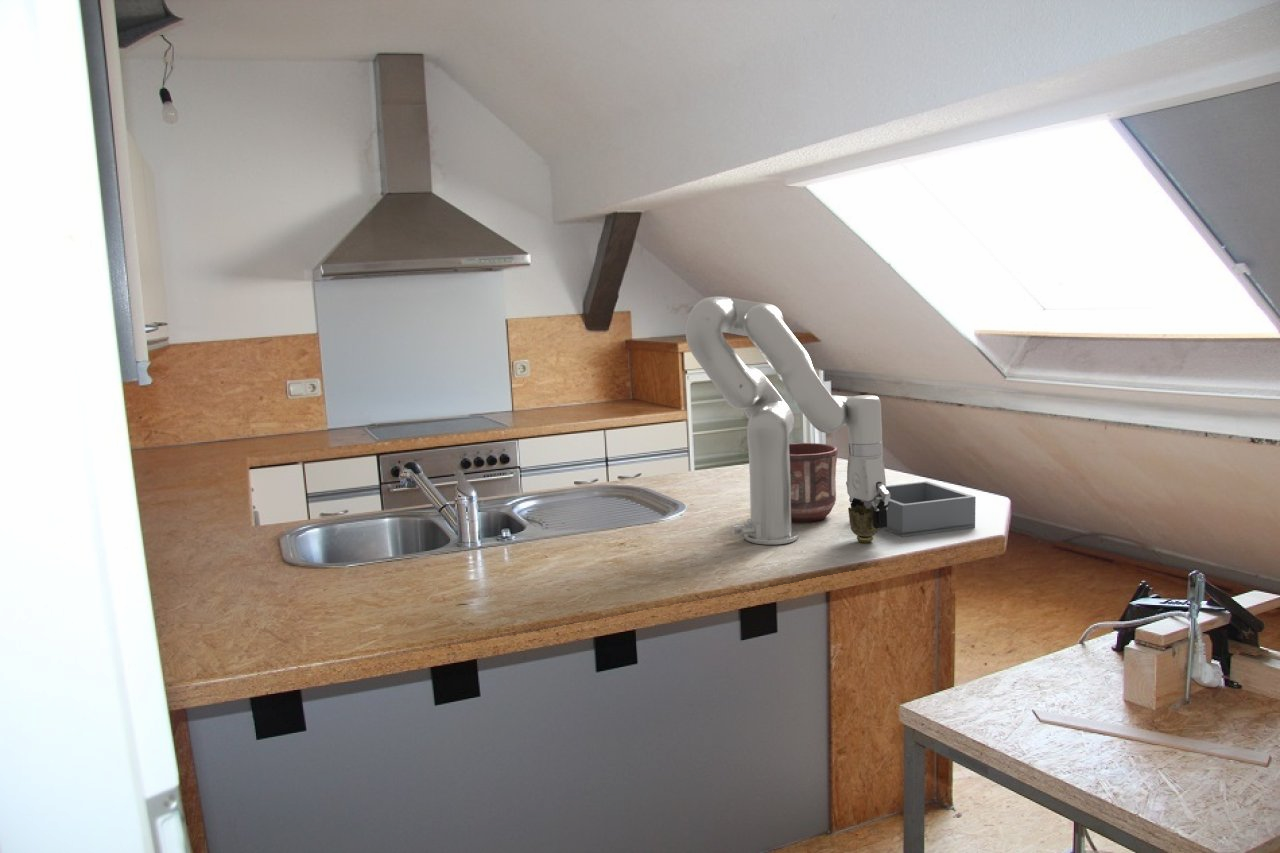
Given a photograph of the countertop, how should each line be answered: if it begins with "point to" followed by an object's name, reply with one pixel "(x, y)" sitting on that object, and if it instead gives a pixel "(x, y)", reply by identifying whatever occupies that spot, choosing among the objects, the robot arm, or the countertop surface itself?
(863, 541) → the brown patterned lamp shade
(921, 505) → the crate
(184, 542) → the countertop surface
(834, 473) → the pottery
